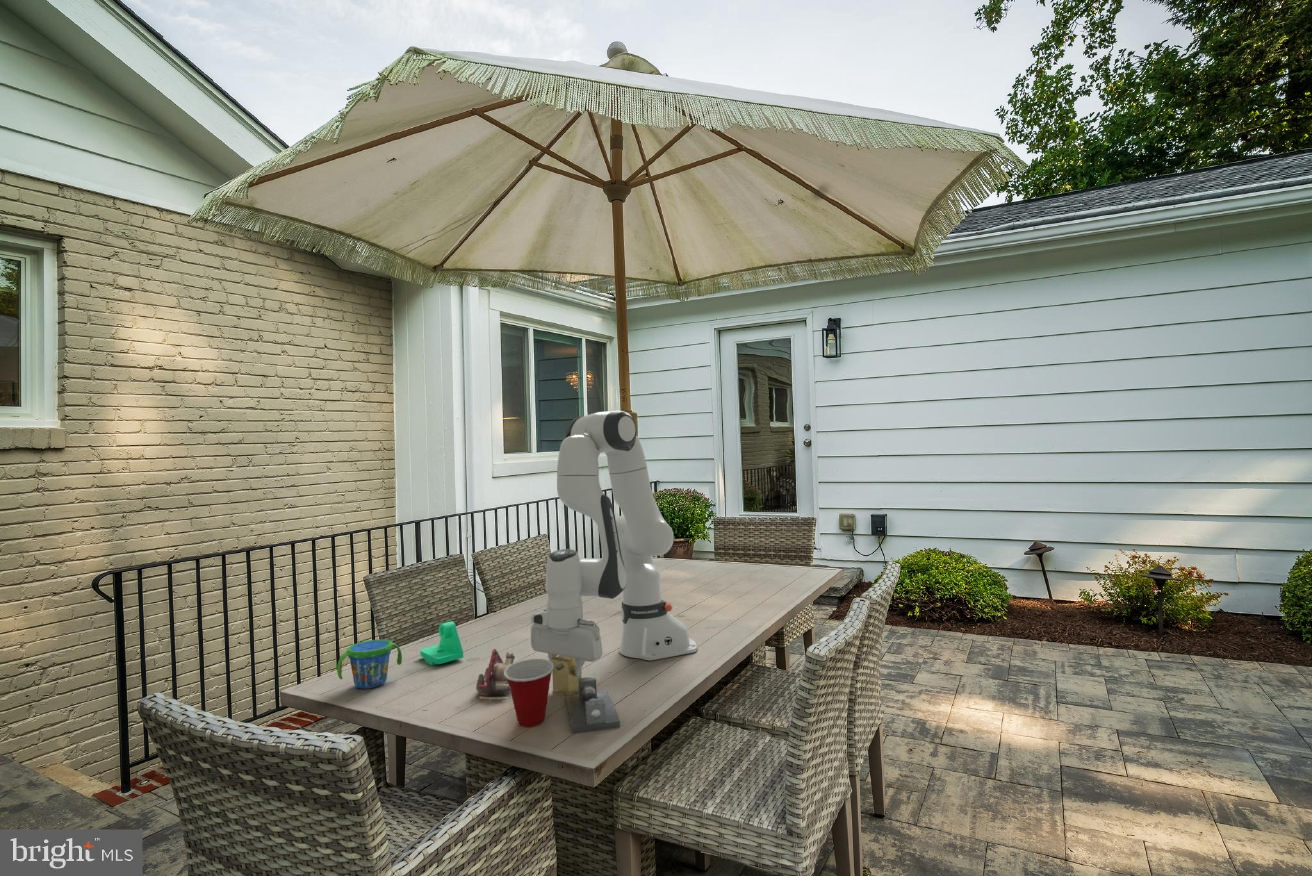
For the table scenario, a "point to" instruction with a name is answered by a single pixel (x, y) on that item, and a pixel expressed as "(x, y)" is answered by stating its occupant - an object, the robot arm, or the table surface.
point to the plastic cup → (529, 689)
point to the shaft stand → (591, 708)
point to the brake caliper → (495, 677)
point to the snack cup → (369, 662)
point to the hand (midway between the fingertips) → (566, 673)
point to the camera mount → (444, 646)
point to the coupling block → (564, 675)
